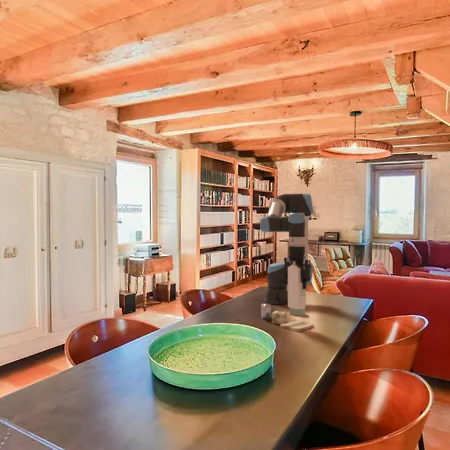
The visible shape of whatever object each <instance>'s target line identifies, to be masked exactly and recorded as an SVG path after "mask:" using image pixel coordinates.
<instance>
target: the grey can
mask: <svg viewBox="0 0 450 450" xmlns="http://www.w3.org/2000/svg"><path fill="white" fill-rule="evenodd" d="M260 305H261V307H260V308H261V309H260V313H261V314H260V315H261V318H262V319H261V320H266V321H267V320H268V321H269V320H272V304H269V303H266V302H265V303H261V304H260Z"/></svg>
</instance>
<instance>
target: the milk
mask: <svg viewBox="0 0 450 450" xmlns="http://www.w3.org/2000/svg"><path fill="white" fill-rule="evenodd" d="M304 270H305V269H304ZM301 281H302V280H301V268H299V267H298V266H297V265H296V261H293V265H291V266H289V267H288V285H287V290H288V304H287V307H288V308H289V309H290V308H294V309H301V308H304V307H305V308H306V307H307V302H306V301H307V300H306V298H307V293H306V291H307V288H306V289H305V296H302V297H301V296H300V282H301Z"/></svg>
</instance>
